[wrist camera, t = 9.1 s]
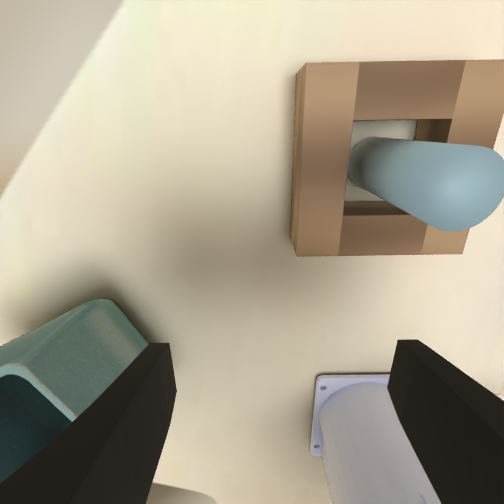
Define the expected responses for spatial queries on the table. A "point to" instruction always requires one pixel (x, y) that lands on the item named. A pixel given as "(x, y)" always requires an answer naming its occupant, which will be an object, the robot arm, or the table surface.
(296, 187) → the open cardboard frame
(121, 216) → the table surface
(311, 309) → the table surface
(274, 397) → the table surface
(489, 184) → the blue-gray dowel
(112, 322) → the flower pot
